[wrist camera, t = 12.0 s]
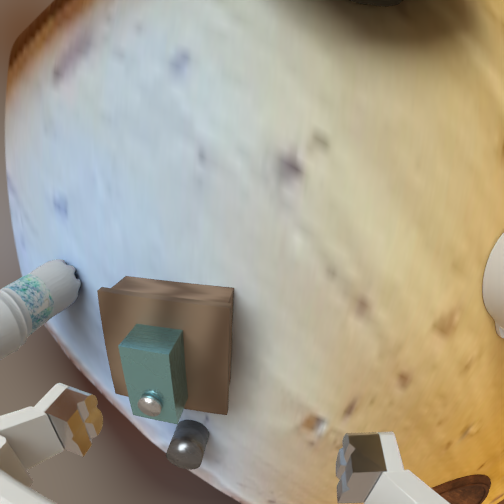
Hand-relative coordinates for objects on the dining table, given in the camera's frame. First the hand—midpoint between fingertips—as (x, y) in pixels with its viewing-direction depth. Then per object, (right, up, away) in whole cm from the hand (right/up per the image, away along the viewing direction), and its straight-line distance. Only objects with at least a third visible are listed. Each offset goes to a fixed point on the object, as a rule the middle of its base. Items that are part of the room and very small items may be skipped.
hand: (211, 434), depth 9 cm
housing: (-8, -6, +23) cm, 26 cm away
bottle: (-23, +2, +29) cm, 37 cm away
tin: (-8, -21, +34) cm, 41 cm away
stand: (-8, -4, +29) cm, 30 cm away
